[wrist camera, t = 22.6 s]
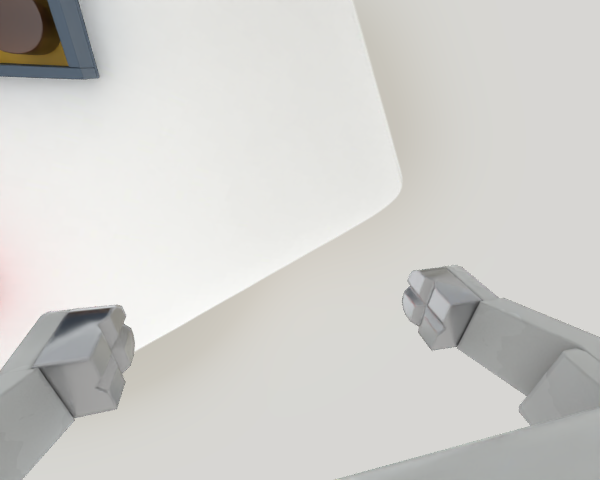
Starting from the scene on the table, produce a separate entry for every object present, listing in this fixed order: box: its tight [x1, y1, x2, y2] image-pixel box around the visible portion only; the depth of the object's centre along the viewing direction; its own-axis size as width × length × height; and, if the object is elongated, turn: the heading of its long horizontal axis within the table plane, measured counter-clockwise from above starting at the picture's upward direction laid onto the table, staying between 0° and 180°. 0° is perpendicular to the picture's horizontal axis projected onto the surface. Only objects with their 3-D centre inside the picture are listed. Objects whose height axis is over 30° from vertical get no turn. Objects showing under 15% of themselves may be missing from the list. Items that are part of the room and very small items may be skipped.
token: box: [0, 0, 60, 55], centre depth 21 cm, size 5×5×3 cm
